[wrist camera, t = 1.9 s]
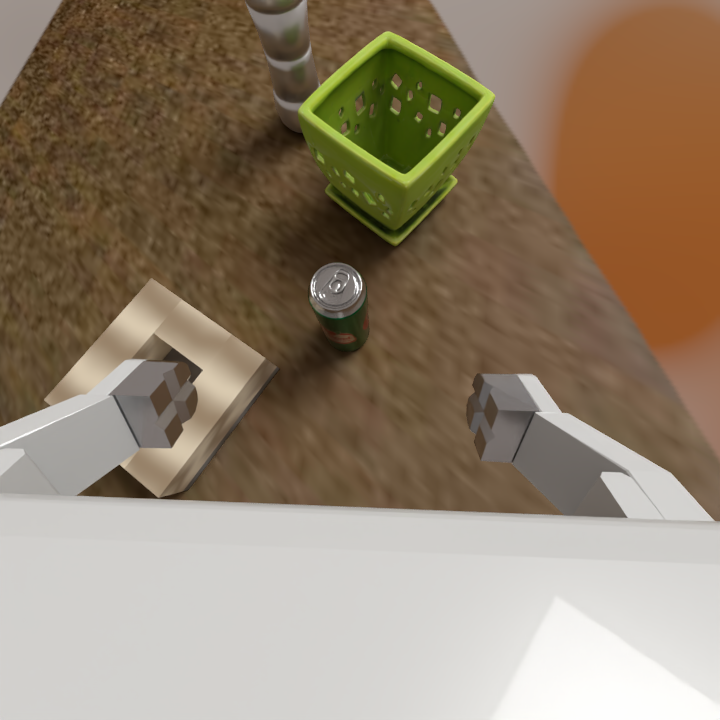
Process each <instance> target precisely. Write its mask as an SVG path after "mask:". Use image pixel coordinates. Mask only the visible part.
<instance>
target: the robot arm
mask: <svg viewBox="0 0 720 720" xmlns="http://www.w3.org/2000/svg"><path fill="white" fill-rule="evenodd" d="M190 376H191V372H190V369H189V366H188V364H186V363H184V362H181V361H164V360H146V359H129V360H125V361H124V362H122V363H121V364H120V365H119V366H118V367H117V368H116V369H114V370H113V371H112V372H111V373H110V374H109V375H108V376H107V377H105V378H104V379H103V380H102V381H101V382H100V383H99V384H97V385H96V386H95V387H94V388H93V389H92V390H91V391H90V392H88V393H87V394H86V395H83V394H80V395H77V396H75V397H72V398H70V399H68V400H65V401H63V402H60V403H58V404H55V405H53V406H51V407H48V408H46V409H43V410H41V411H38V412H36V413H34V414H31V415H29V416H26V417H24V418H21V419H19V420H16V421H14V422H12V423H9V424H7V425H4V426H2V427H0V720H720V522H715V521H714V520H713V519H712V518H711V517H710V516H709V515H708V513H707V512H706V511H705V510H704V509H703V508H702V507H701V506H700V505H699V503H698V502H697V501H696V500H695V499H694V498H693V497H692V496H691V495H690V494H689V492H688V491H687V490H686V489H685V488H684V487H683V486H682V485H681V484H680V483H679V481H678V480H677V479H676V478H675V477H674V476H673V475H672V474H671V473H670V472H668V471H666V470H664V469H663V468H661V467H659V466H658V465H656V464H654V463H652V462H651V461H649V460H647V459H646V458H644V457H642V456H640V455H639V454H637V453H635V452H634V451H632V450H630V449H628V448H627V447H625V446H623V445H622V444H620V443H618V442H616V441H615V440H613V439H611V438H610V437H608V436H606V435H604V434H603V433H601V432H599V431H598V430H596V429H594V428H592V427H591V426H589V425H587V424H586V423H584V422H582V421H580V420H579V419H577V418H575V417H574V416H572V415H570V414H568V413H562V412H561V411H560V409H559V408H558V407H557V405H556V404H555V402H554V401H553V400H552V398H551V397H550V395H549V394H548V393H547V391H546V390H545V388H544V387H543V386H542V384H541V383H540V381H539V380H538V379H537V377H536V376H534V375H532V374H482V373H477V374H476V376H475V378H474V381H473V384H472V386H473V388H474V390H475V393H473V394H472V395H471V396H470V397H469V399H468V403H467V411H466V417H467V423H468V426H469V429H470V430H471V431H472V432H473V433H475V434H476V436H475V440H474V443H475V446H476V449H477V452H478V454H479V457H480V460H481V461H494V462H509V463H513V465H514V466H515V467H516V468H517V469H518V470H519V471H520V472H521V473H522V474H523V475H524V476H525V477H526V478H527V479H528V480H529V481H530V482H531V483H532V484H533V485H534V486H535V487H536V488H537V489H538V490H539V491H540V492H541V493H542V494H543V495H544V496H545V497H546V498H547V499H548V500H549V501H550V502H551V503H553V504H554V505H555V506H556V507H557V508H558V509H559V510H560V511H561V512H562V513H563V514H564V515H540V514H515V513H490V512H466V511H441V510H416V509H391V508H366V507H341V506H316V505H291V504H266V503H242V502H217V501H192V500H167V499H142V498H117V497H91V496H76V495H77V494H79V493H80V492H82V491H83V490H84V489H86V488H87V487H89V486H90V485H91V484H93V483H94V482H96V481H97V480H98V479H100V478H101V477H102V476H104V475H105V474H107V473H108V472H109V471H111V470H112V469H114V468H115V467H116V466H118V465H119V464H121V463H122V462H123V461H125V460H126V459H128V458H129V457H130V456H132V455H133V454H134V453H136V452H137V451H139V450H140V448H172V447H173V446H174V444H175V443H176V441H177V439H178V438H179V436H180V435H181V433H182V432H183V426H182V424H183V423H184V422H186V421H188V420H189V419H191V418H192V416H193V414H194V413H195V411H196V407H197V403H198V394H197V390H196V387H195V386H194V385H193V384H192V383H191V382H190V381H188V379H189V378H190Z"/></svg>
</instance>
